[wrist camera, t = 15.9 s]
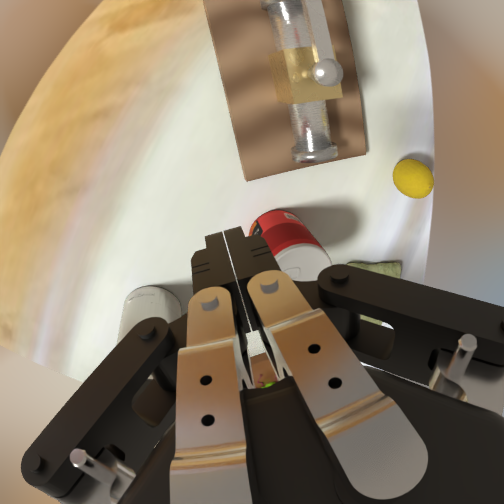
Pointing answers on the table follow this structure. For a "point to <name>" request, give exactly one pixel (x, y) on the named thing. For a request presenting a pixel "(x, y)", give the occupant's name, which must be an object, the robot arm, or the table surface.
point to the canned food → (291, 245)
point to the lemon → (413, 178)
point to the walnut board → (263, 90)
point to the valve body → (300, 82)
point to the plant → (262, 371)
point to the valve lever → (321, 45)
